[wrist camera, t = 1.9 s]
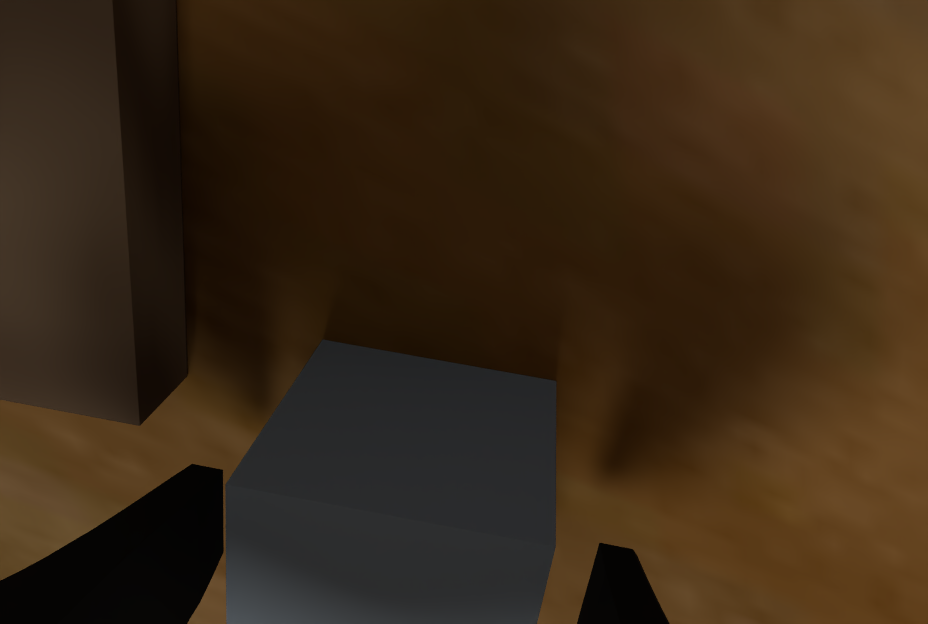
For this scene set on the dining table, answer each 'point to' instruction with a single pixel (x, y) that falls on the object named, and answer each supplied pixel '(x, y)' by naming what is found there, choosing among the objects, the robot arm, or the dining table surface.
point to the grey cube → (395, 496)
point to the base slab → (90, 207)
